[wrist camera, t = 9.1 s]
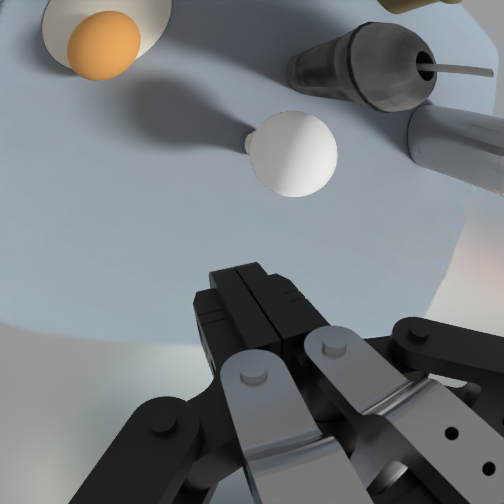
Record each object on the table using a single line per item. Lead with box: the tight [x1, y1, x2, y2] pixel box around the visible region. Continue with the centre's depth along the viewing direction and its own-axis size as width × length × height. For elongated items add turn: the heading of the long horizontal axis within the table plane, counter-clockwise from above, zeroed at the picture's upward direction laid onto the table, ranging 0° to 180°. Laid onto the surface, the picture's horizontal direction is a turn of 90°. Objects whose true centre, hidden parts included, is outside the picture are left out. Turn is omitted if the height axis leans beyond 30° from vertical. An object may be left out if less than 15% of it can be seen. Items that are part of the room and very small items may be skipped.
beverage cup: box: [286, 22, 494, 113], centre depth 19 cm, size 7×7×20 cm
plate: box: [42, 0, 172, 69], centre depth 18 cm, size 12×12×1 cm
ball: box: [67, 11, 141, 81], centre depth 18 cm, size 6×6×6 cm
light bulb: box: [244, 111, 337, 197], centre depth 25 cm, size 7×7×11 cm
